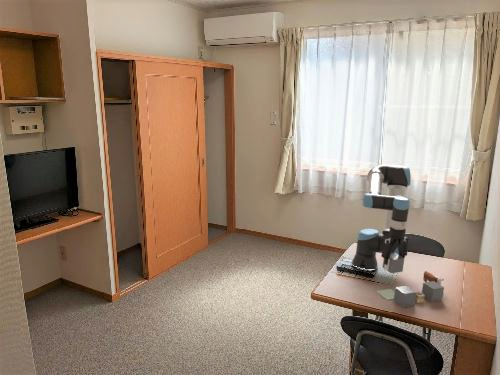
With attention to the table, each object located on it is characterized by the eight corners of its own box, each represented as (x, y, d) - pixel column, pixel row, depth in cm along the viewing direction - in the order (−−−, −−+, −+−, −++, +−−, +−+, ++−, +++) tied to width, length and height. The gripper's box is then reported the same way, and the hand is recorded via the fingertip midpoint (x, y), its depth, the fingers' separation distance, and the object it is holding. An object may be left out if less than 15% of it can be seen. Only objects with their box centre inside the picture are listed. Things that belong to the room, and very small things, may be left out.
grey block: (393, 300, 198) (395, 287, 196) (404, 298, 201) (406, 285, 199) (402, 307, 192) (404, 294, 190) (414, 305, 194) (416, 292, 192)
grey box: (391, 273, 196) (393, 259, 194) (382, 267, 202) (384, 254, 200) (402, 271, 198) (404, 258, 196) (393, 265, 204) (395, 252, 203)
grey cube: (421, 295, 204) (423, 282, 202) (431, 293, 206) (433, 281, 205) (431, 302, 198) (433, 289, 196) (441, 300, 200) (444, 287, 198)
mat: (376, 291, 206) (376, 291, 206) (390, 289, 209) (390, 288, 209) (387, 300, 198) (387, 299, 198) (401, 297, 201) (401, 297, 201)
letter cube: (411, 299, 200) (413, 291, 199) (418, 298, 202) (419, 290, 201) (417, 303, 197) (418, 295, 196) (423, 302, 198) (424, 294, 197)
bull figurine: (437, 293, 206) (439, 280, 204) (420, 282, 219) (422, 268, 217) (444, 293, 208) (446, 279, 206) (426, 281, 220) (429, 268, 218)
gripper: (386, 231, 188) (381, 274, 193) (419, 228, 194) (412, 270, 200) (376, 226, 195) (371, 268, 200) (408, 223, 201) (403, 263, 207)
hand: (392, 269), depth 200 cm, fingers closed on grey box, 7 cm apart
